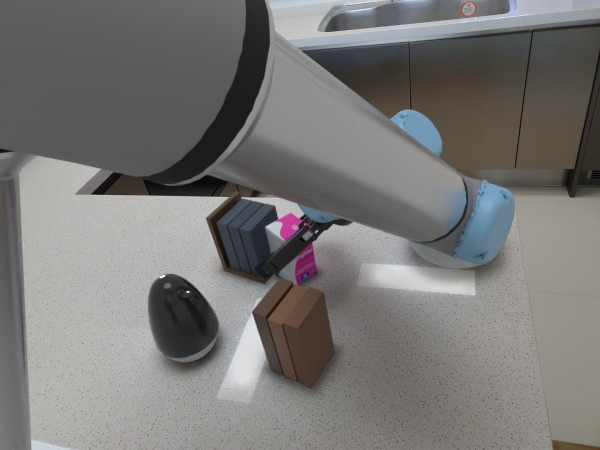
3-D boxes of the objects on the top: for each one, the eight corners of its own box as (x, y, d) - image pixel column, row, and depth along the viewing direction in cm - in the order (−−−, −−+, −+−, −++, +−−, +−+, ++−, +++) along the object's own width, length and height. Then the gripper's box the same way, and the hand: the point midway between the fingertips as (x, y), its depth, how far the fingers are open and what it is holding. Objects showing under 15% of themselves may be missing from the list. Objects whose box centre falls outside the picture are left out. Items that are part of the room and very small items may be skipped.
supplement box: (293, 290, 82) (282, 240, 75) (275, 274, 86) (262, 225, 79) (319, 273, 84) (310, 224, 77) (299, 259, 88) (289, 210, 82)
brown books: (312, 388, 66) (297, 328, 58) (270, 370, 69) (251, 311, 61) (334, 351, 70) (323, 291, 62) (294, 336, 74) (279, 277, 66)
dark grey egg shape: (197, 382, 69) (164, 315, 60) (150, 358, 75) (113, 293, 66) (238, 333, 76) (213, 265, 67) (192, 314, 81) (163, 249, 72)
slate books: (264, 283, 84) (249, 229, 77) (223, 270, 89) (205, 217, 82) (290, 253, 90) (278, 199, 82) (250, 242, 95) (235, 190, 87)
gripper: (327, 265, 58) (257, 311, 75) (399, 167, 74) (329, 223, 91) (285, 223, 58) (224, 279, 74) (367, 134, 74) (302, 196, 90)
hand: (282, 248), depth 82 cm, fingers open, 13 cm apart
